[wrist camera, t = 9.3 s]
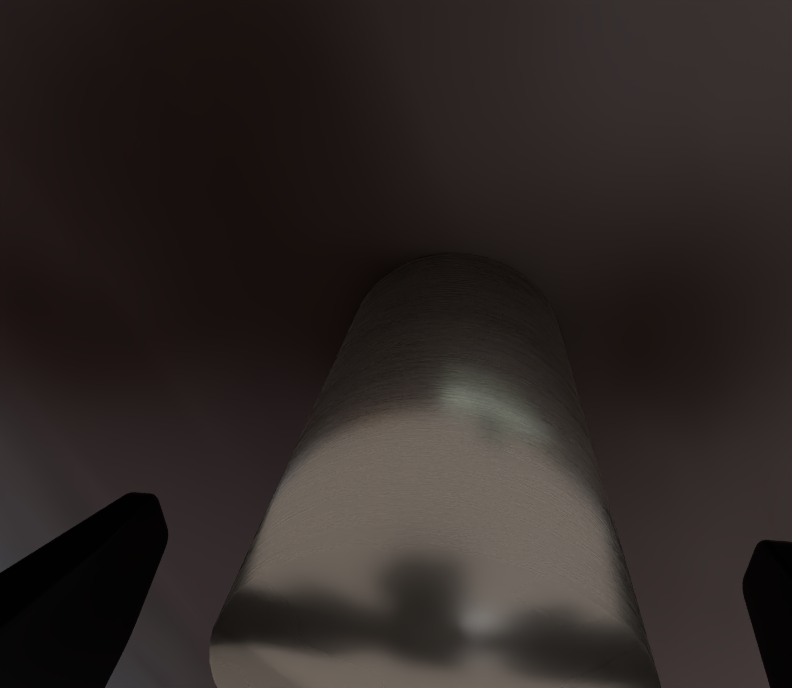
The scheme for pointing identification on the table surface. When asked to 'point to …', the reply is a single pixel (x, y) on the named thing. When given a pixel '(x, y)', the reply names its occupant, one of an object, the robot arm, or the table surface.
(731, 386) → the table surface
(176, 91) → the table surface
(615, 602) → the gray cylinder
